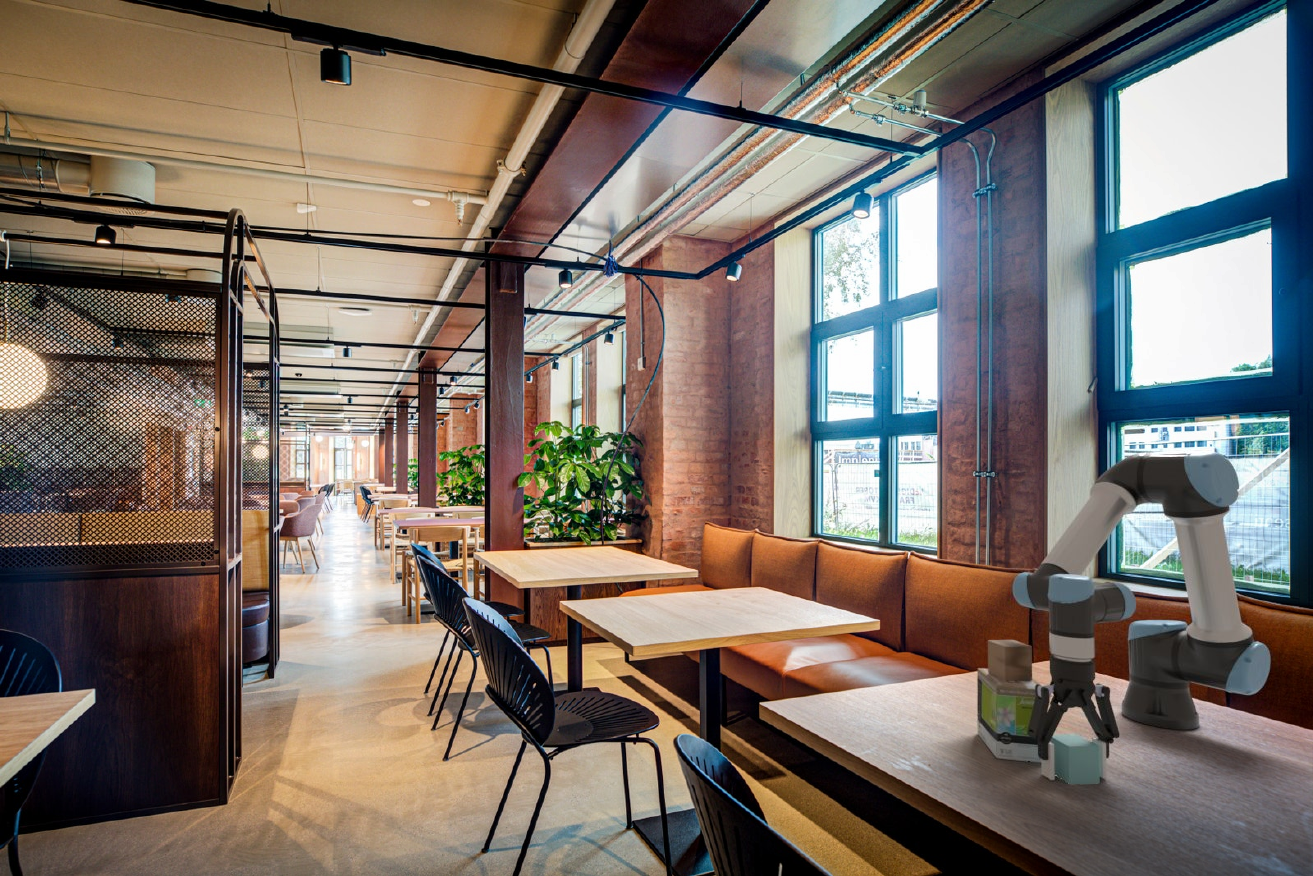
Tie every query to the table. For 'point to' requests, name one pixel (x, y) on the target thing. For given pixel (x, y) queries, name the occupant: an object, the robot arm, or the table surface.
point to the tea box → (1006, 716)
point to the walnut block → (1010, 660)
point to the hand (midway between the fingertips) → (1074, 776)
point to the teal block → (1076, 759)
